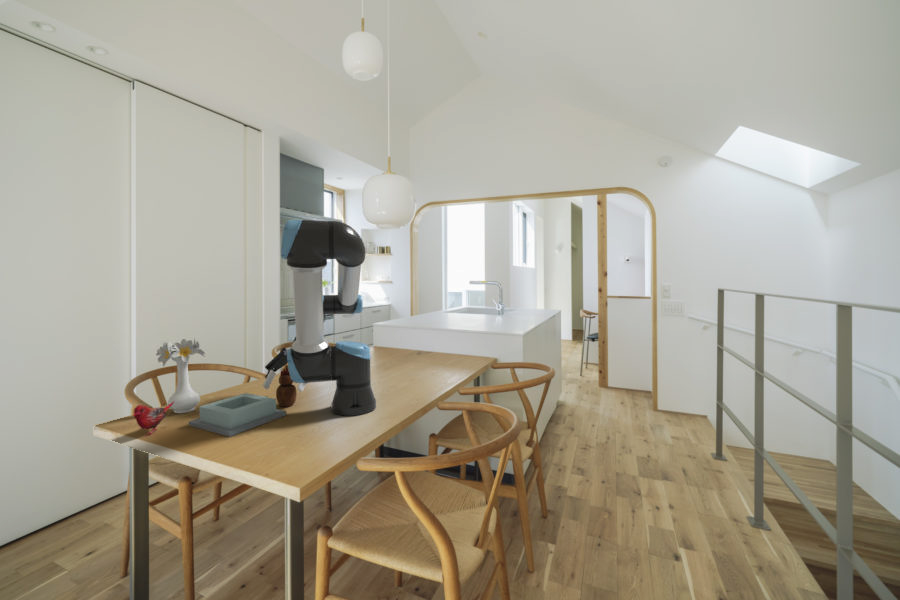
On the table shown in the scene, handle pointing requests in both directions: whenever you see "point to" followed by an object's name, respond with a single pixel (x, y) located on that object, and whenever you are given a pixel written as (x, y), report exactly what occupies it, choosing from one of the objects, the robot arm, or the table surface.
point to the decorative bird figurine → (149, 416)
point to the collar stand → (237, 414)
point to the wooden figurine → (286, 389)
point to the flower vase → (181, 373)
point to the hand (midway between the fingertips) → (282, 388)
